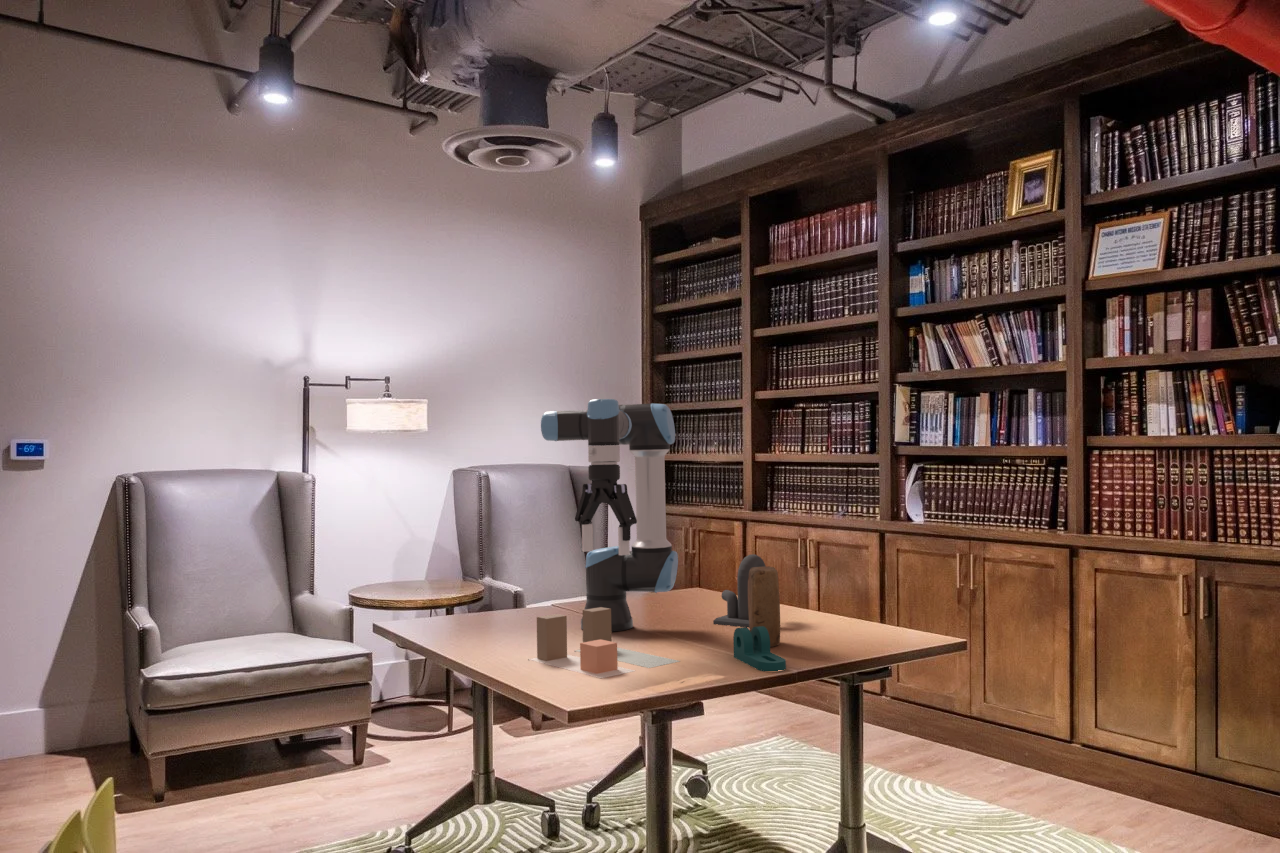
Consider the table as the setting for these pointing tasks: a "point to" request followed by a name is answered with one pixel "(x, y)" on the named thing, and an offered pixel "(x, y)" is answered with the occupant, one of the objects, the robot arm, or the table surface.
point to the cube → (598, 656)
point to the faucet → (739, 595)
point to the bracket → (756, 649)
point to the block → (764, 601)
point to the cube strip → (577, 668)
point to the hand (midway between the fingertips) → (605, 553)
